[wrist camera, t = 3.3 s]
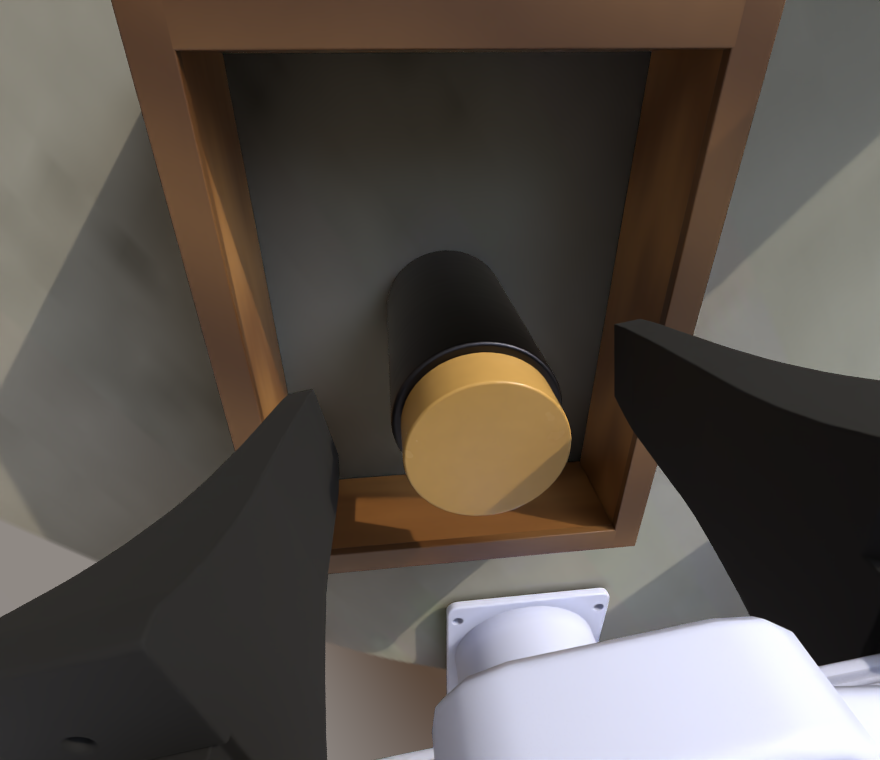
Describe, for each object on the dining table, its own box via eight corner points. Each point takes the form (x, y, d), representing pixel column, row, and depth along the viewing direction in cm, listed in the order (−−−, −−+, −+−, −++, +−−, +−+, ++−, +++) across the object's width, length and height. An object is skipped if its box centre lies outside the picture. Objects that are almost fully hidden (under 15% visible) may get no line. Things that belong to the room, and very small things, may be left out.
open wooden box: (595, 474, 21) (635, 546, 18) (287, 498, 20) (269, 579, 17) (686, 14, 13) (788, -7, 10) (180, 13, 12) (106, -12, 9)
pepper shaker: (499, 355, 18) (569, 515, 11) (390, 361, 17) (397, 530, 11) (505, 247, 16) (595, 365, 9) (383, 252, 15) (386, 378, 9)
